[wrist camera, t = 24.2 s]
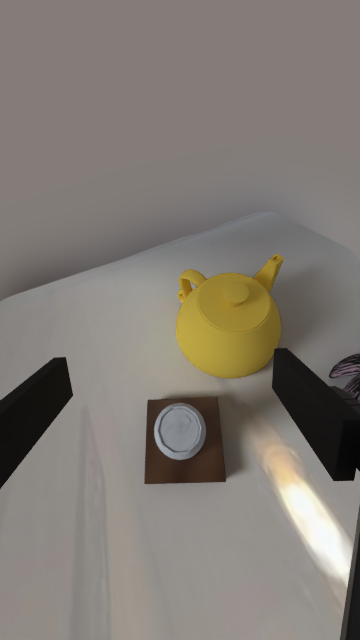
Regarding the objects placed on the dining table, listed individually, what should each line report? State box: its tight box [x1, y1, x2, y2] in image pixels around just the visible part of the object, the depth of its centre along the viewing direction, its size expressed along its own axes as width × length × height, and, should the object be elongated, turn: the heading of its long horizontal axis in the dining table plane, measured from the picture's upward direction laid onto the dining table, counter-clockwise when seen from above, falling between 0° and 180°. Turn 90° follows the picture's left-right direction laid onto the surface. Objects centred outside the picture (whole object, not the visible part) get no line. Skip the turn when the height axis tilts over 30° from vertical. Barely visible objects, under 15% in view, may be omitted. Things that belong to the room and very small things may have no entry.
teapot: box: [176, 253, 284, 378], centre depth 37 cm, size 20×19×13 cm
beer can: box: [154, 403, 206, 460], centre depth 26 cm, size 5×5×12 cm
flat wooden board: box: [144, 397, 226, 484], centre depth 33 cm, size 10×10×2 cm
